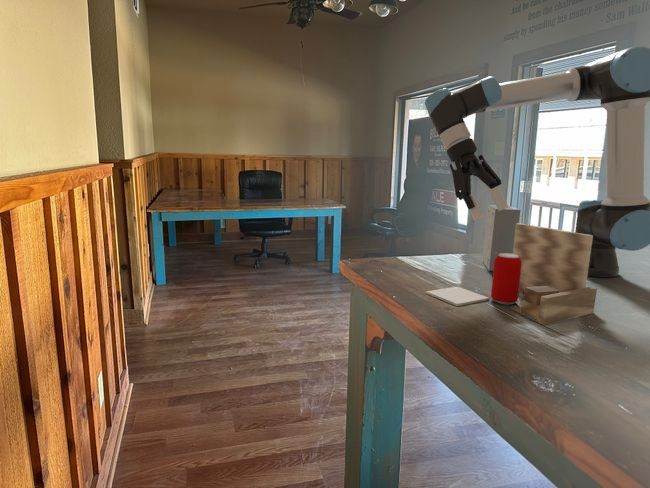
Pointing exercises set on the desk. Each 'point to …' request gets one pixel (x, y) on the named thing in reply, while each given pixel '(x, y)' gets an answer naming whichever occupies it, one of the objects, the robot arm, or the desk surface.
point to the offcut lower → (529, 309)
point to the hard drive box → (499, 233)
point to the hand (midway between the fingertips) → (491, 214)
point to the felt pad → (457, 296)
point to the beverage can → (506, 278)
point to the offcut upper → (537, 293)
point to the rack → (556, 270)
